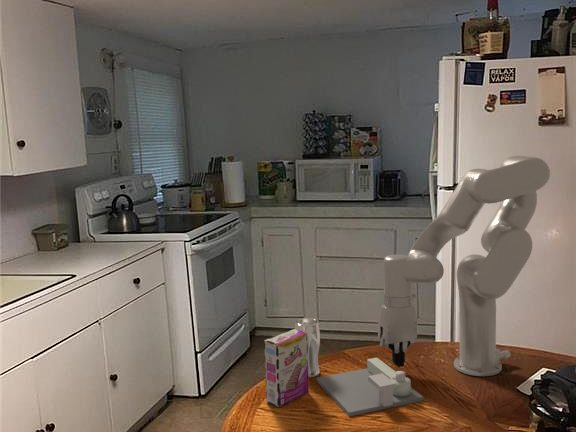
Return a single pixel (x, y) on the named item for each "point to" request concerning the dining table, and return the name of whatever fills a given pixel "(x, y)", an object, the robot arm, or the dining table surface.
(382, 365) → the link
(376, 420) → the dining table surface
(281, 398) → the candy bar box
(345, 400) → the board
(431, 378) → the dining table surface
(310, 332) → the beer glass
